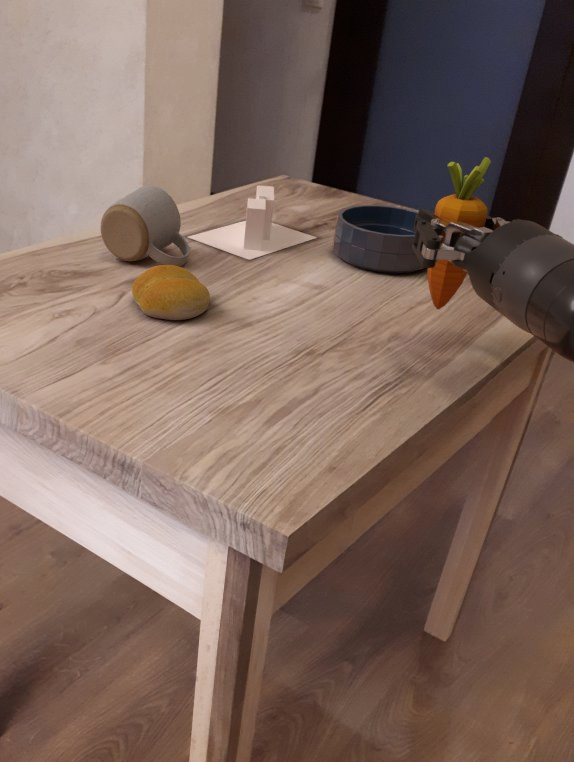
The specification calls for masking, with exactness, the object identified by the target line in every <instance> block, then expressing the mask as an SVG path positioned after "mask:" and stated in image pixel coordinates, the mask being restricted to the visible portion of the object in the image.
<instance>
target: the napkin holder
mask: <svg viewBox="0 0 574 762" xmlns="http://www.w3.org/2000/svg"><path fill="white" fill-rule="evenodd" d="M246 204H247V205H246V214H245V220H243V221H239V222H235V223H232V224H228V225H225V226H221V227H218V228H214V229H210V230H206V231H202V232H200V233H196V234H192V235H188V236H187V238H189V239H191V240H194V241H196V242H199V243H201V244H205V245H207V246H210V247H213V248H216V249H218V250H221V251H224V252H226V253H230V254H231V255H235V256H237V257H240V258H243V259H245V260H249V261H251V260H253V259H257V258H260V257H262V256H266V255H268V254H272V253H275V252H278V251H281V250H284V249H287V248H291V247H293V246H296V245H299V244H302V243H306V242H309V241H311V240H314V239H317V238H318V237H317V236H314V235H311V234H308V233H304V232H301V231H298V230H296V229H293V228H291V227H287V226H283V225H280V224H277V223H274V222H273V214H274V205H275V187H274V186H271V185H270V186H269V185H258V184H257V185H256V193H255V198H252V197H248V198H247V203H246Z"/></svg>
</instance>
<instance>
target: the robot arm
mask: <svg viewBox="0 0 574 762" xmlns="http://www.w3.org/2000/svg"><path fill="white" fill-rule="evenodd" d="M417 212H418V214H416V218H415V223H414V228H413V229H414V231H416V232H415V237H414V242H413V244H412V249H413V251H414V253H415V254H416V256H417V258H418V259H419V261H420V263H421V265H422V266H424V267H426V268H425V269H428V268H433V267H435V264H436V263H437V262H438V260H447V261H450V262H452V263H453V265H454V266H456V267H458V268H461V269H463V270H464V271H466V272H467V275H468V277H469V281H470V283H471V285H472V286H471V287H472V289H473V291H474V292H475V294H476V295H477V296H478V297H479V298H480V299H482V301H484V302H485V303H487V305H489V306H490V307H492V308H493V309H494V310H495V311H497V313H499V314H500V315H502V316H503V317H504V318H505V319H507V320H508V321H509V322H510V323H512V324H513V325H515V327H517V328H519V329H521V330H522V331H524V332H525V333H528V334H530V335H532V336H533V337H535V338H537V339H538V340H539V341H540V342H542V343H543V344H545V346H547V347H548V348H549V349H551V350H552V351H553V352H554V353H556V354H557V355H559V356H561V357H562V358H564V359H565V360H568V361H569V362H571V363H574V243H572V242H571V241H568V240H566V239H565V238H563V236H561V235H559V234H556V233H554V232H553V231H551V230H549V229H547V228H546V227H544V226H542V225H541V224H538V223H537V222H535V221H531V220H528V219H527V220H526V219H520V218H516V219H512V220H511V221H506V219H504V218H502V217H499V216H498V217H492V216H490V215H488V214H487V218H486V222H485V225H484V227H480V228H477V227H475V226H472V225H469V224H467V223H464V222H462V221H458V222H452V223H449V222H446V221H444V220H442V219H441V218H439V217H438V216H436V215H435V214H434V212H432V211H431V210H430V209H428V208H427V209H426V208H423V209H422V208H421V209H419V210H418V211H417ZM442 231H445V233H446V235H445V239H444V243H443V242H442V241H443V236H441V235H442ZM461 232H462V233H463V234H462V235H461V236H460V234H461Z"/></svg>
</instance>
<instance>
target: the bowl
mask: <svg viewBox="0 0 574 762" xmlns="http://www.w3.org/2000/svg"><path fill="white" fill-rule="evenodd" d="M418 212H419V211H416V210H413V209H409V208H404V207H398V206H392V205H383V204H382V205H381V204H359V205H350V206H348V207H344V208H342V209H341V210H339V211H338V212H337V215H336V220H335V226H334V232H333V238H332V239H333V240H332V252H333V253H334V254H335V255H336V257H338V258H340V259H341V260H343V261H344V262H345V263H347V264H349V265H351V266H353V267H356V268H359V269H362V270H367V271H370V272H377V273H384V274H409V273H413V272H418V271H420V270H423V269H427V268H426V267H424V266H422V265H421V263H420V261H419V259H418V258H417V256H416V254H415V253H414V251H413V249H412V244H413V242H414V237H415V232H416V231H414V229H413V228H414V223H415V218H416V214H418Z"/></svg>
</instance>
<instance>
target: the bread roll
mask: <svg viewBox="0 0 574 762" xmlns="http://www.w3.org/2000/svg"><path fill="white" fill-rule="evenodd" d="M131 294H132V298H133V299H134V301H135V302H136V303H137V305H138V307H139V308H140V310H141V311H142V312H143V314H145V315H146V316H148V317H152V318H155V319H161V320H169V321H183V320H189V319H193V318H195V317H197V316H198V317H199V315H201V314H203V313H204V312H205V311H206V310H208V308H209V305H210V301H211V300H210V299H211V294H210V292H209V289H208V288H207V287H206V285H204V284H203V283H202V282H200V279H198V278H197V276H196V275H194V274H193V273H192V272H191V271H190V270H188V269H186V268H184V267H182V266H180V267H178V266H175V265H162V264H159V265H155V266H152V267H150V268H148V269H146V270H145V271H144V272H142V273H141V274H140V275H138V276H137V277H136V279H135V280H134V282H133V284H132V286H131Z"/></svg>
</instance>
